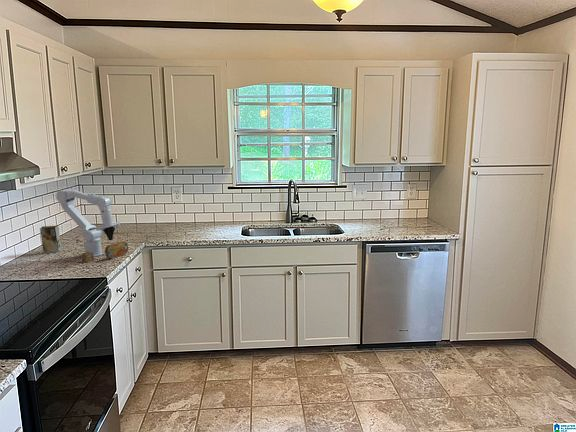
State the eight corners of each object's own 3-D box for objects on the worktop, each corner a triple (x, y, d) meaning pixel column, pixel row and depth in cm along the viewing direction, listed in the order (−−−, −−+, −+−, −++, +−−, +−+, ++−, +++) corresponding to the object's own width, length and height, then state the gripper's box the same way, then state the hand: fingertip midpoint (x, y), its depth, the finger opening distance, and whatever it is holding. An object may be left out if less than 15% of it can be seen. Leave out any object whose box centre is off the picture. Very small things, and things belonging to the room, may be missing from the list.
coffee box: (62, 249, 271) (58, 225, 268) (58, 252, 264) (55, 227, 262) (46, 250, 269) (43, 226, 266) (42, 253, 263) (39, 228, 260)
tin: (108, 260, 243) (106, 246, 241) (104, 259, 244) (103, 245, 243) (129, 253, 256) (127, 240, 255) (125, 253, 258) (124, 239, 256)
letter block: (82, 261, 242) (81, 253, 242) (89, 259, 246) (88, 251, 245) (86, 262, 240) (85, 254, 239) (94, 260, 244) (93, 252, 243)
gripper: (99, 220, 241) (103, 243, 243) (121, 215, 253) (125, 237, 255) (92, 220, 245) (96, 242, 248) (114, 215, 257) (118, 236, 259)
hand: (110, 239), depth 252 cm, fingers closed
